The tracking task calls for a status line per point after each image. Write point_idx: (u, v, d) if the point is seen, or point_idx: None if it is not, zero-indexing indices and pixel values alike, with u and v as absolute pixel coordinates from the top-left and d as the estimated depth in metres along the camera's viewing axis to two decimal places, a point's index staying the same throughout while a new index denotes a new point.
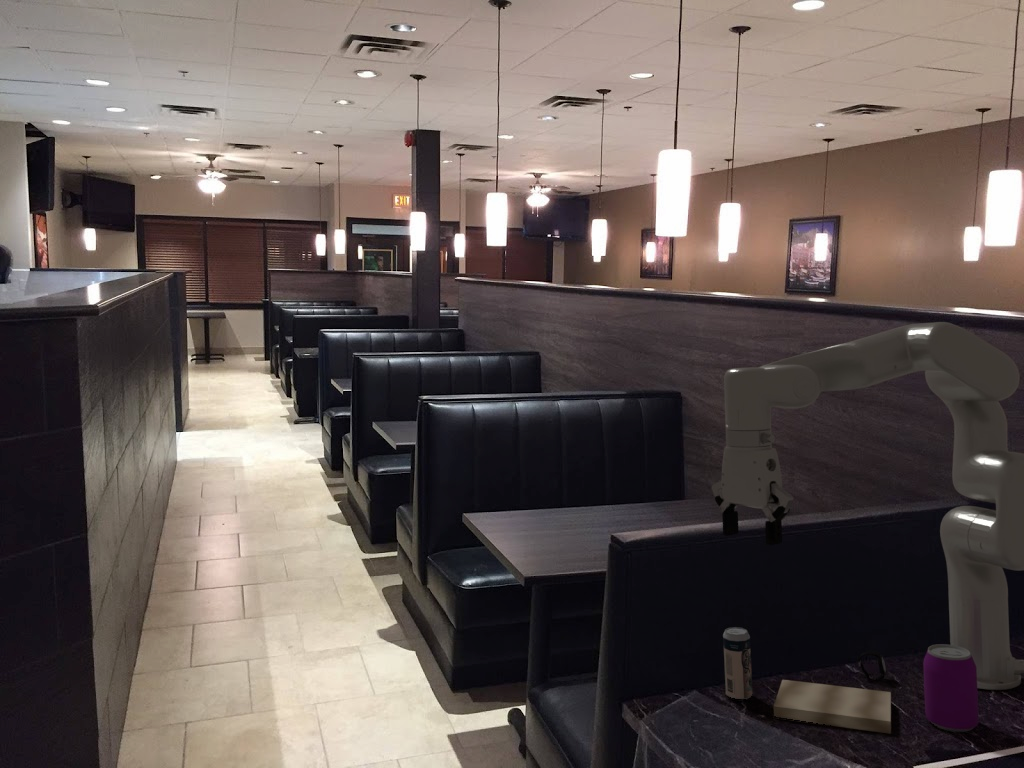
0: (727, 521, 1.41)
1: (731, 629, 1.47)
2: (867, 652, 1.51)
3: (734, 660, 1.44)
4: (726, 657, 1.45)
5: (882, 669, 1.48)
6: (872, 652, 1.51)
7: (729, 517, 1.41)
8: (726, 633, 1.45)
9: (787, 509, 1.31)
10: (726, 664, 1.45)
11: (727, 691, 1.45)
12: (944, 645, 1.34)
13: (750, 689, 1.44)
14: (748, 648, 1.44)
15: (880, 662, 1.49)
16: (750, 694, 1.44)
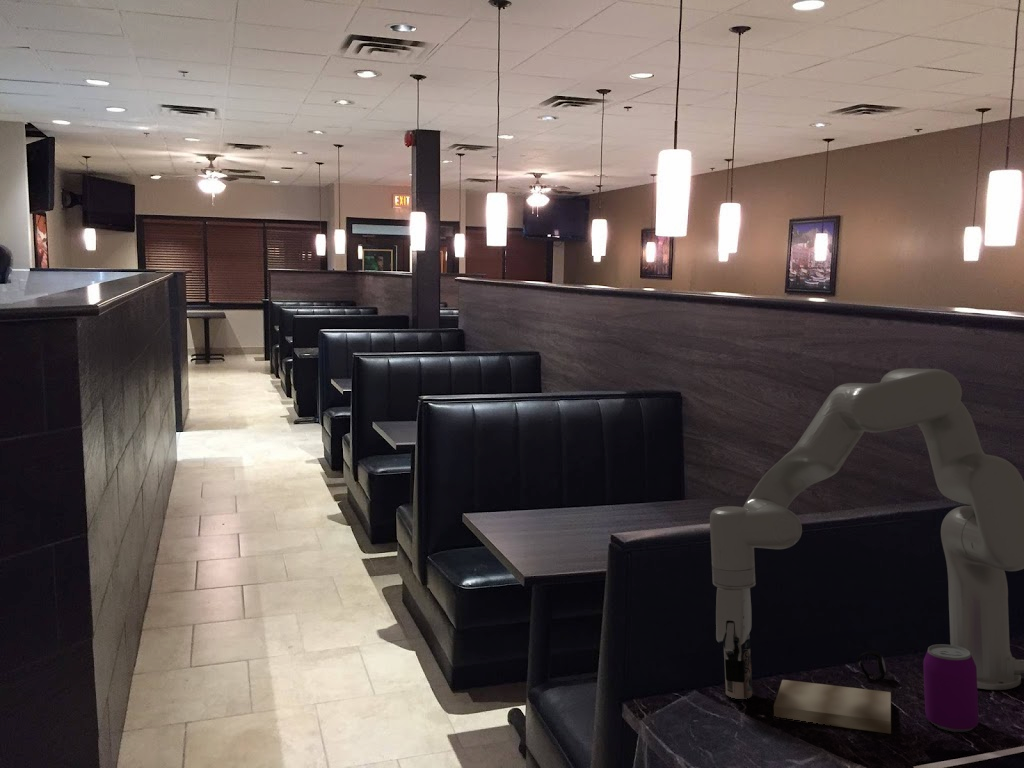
0: None
1: None
2: (867, 652, 1.51)
3: None
4: None
5: (882, 669, 1.48)
6: (872, 652, 1.51)
7: None
8: None
9: None
10: None
11: (727, 691, 1.45)
12: (944, 645, 1.34)
13: (750, 689, 1.44)
14: (748, 648, 1.44)
15: (880, 662, 1.49)
16: (750, 694, 1.44)
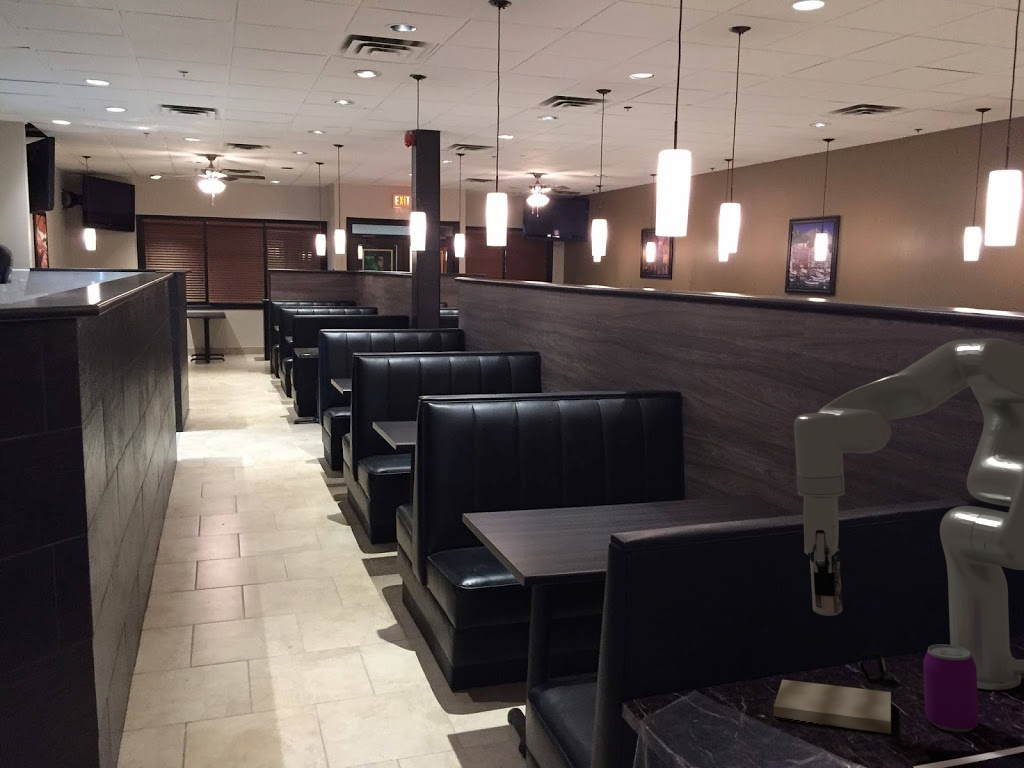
0: None
1: None
2: (867, 652, 1.51)
3: None
4: None
5: (882, 669, 1.48)
6: (872, 652, 1.51)
7: None
8: None
9: None
10: (813, 578, 1.38)
11: (815, 607, 1.38)
12: (944, 645, 1.34)
13: (840, 604, 1.37)
14: (837, 561, 1.36)
15: (880, 662, 1.49)
16: (840, 609, 1.37)
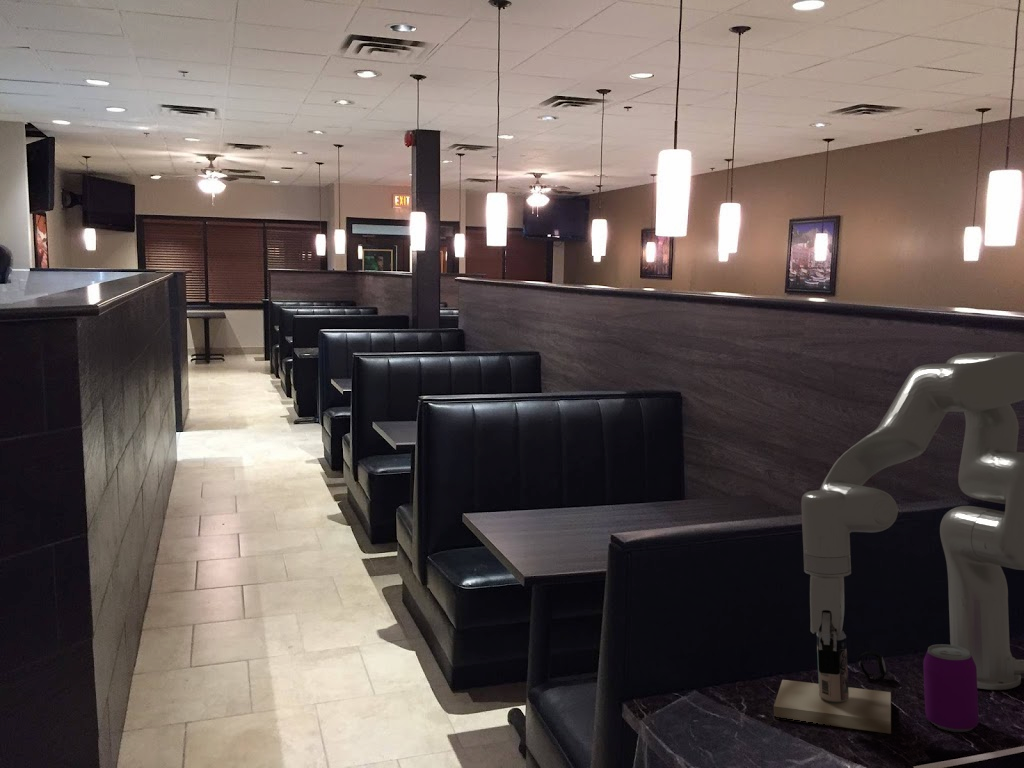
0: None
1: None
2: (867, 652, 1.51)
3: None
4: None
5: (882, 669, 1.48)
6: (872, 652, 1.51)
7: None
8: None
9: None
10: None
11: (822, 693, 1.38)
12: (944, 645, 1.34)
13: (846, 691, 1.37)
14: (845, 648, 1.37)
15: (880, 662, 1.49)
16: (847, 696, 1.37)
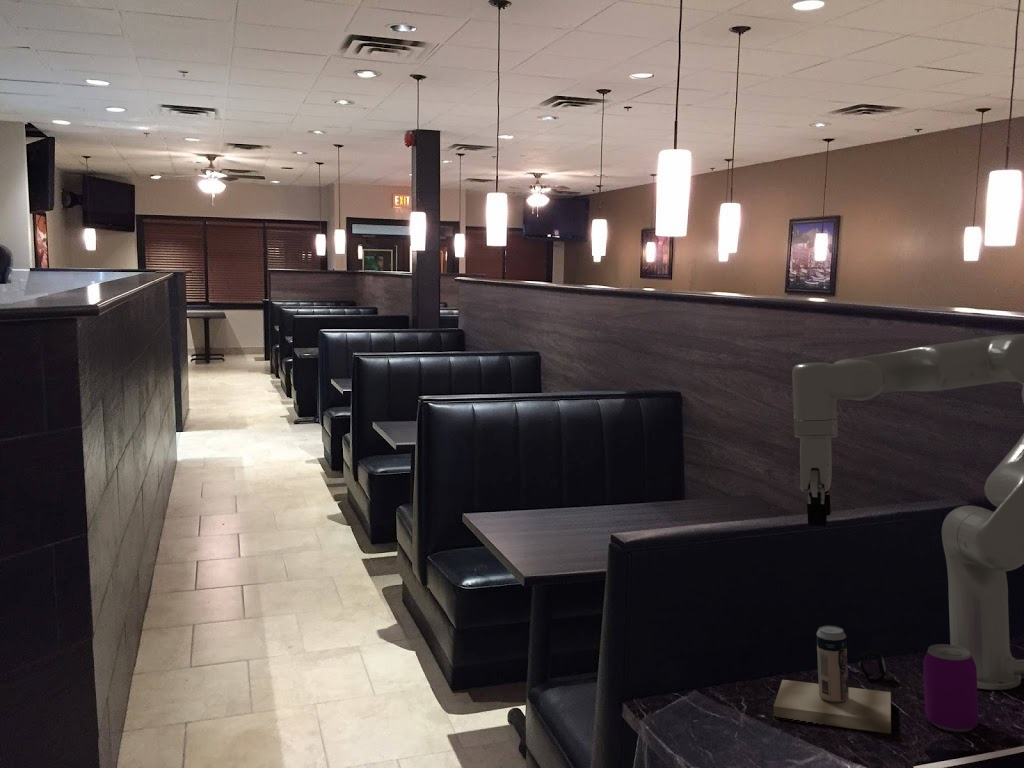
0: None
1: (825, 628, 1.39)
2: (867, 652, 1.51)
3: (830, 660, 1.36)
4: (821, 657, 1.37)
5: (882, 669, 1.48)
6: (872, 652, 1.51)
7: None
8: (821, 632, 1.38)
9: None
10: (820, 664, 1.38)
11: (822, 693, 1.38)
12: (944, 645, 1.34)
13: (847, 691, 1.37)
14: (845, 648, 1.37)
15: (880, 662, 1.49)
16: (847, 696, 1.37)
